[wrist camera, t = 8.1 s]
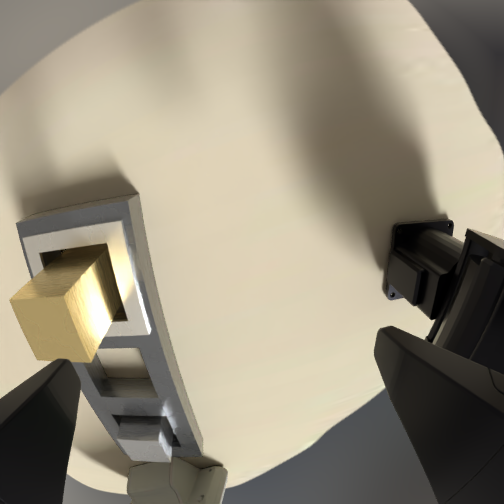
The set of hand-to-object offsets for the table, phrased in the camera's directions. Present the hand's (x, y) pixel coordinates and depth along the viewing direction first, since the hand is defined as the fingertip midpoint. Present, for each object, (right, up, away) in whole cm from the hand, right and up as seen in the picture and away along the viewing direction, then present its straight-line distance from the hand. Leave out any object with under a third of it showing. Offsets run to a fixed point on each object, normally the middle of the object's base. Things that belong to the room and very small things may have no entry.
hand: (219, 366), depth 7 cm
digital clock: (-10, -27, +23) cm, 37 cm away
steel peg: (-9, -13, +18) cm, 24 cm away
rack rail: (-10, -6, +15) cm, 19 cm away
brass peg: (-10, +2, +12) cm, 16 cm away
